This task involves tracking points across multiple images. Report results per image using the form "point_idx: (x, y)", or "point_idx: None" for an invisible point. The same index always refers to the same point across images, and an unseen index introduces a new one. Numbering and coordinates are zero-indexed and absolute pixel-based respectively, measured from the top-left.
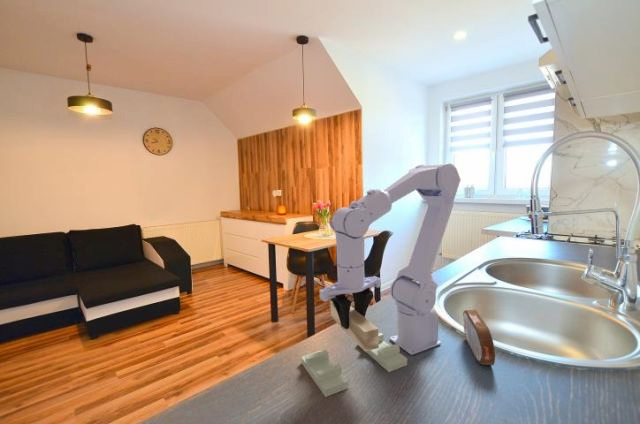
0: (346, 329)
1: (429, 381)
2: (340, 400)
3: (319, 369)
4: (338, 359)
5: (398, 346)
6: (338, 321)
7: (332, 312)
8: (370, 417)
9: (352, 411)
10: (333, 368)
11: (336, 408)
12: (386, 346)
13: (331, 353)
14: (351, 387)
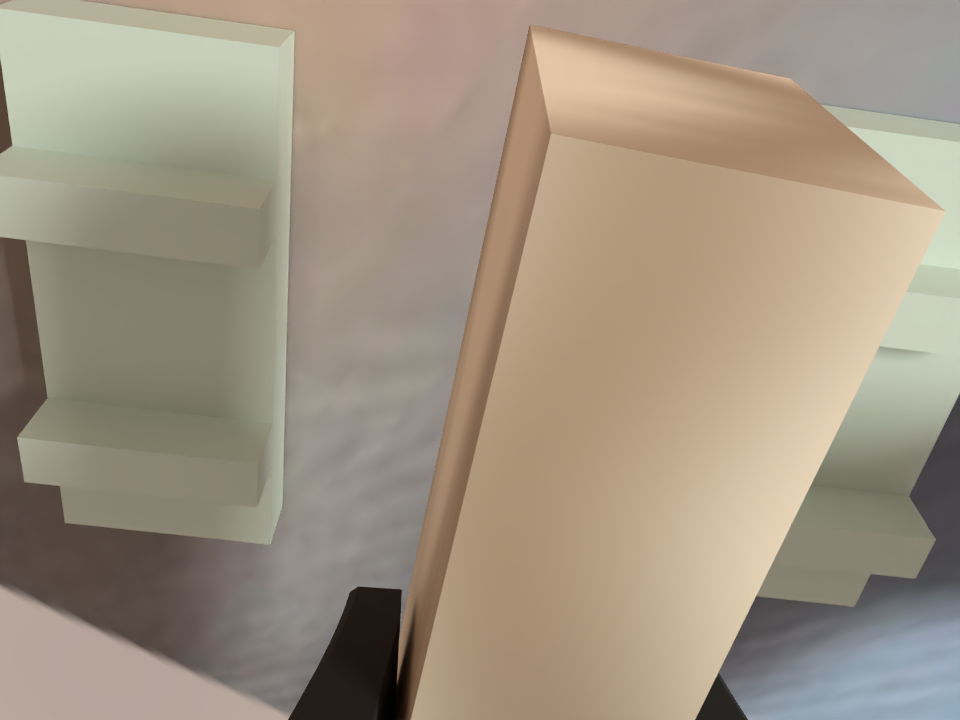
0: (411, 597)
1: (777, 710)
2: (175, 549)
3: (114, 319)
4: (429, 189)
5: (910, 572)
6: (457, 379)
7: (514, 151)
8: (268, 701)
9: (199, 635)
10: (182, 486)
11: (119, 579)
12: (905, 413)
13: (429, 50)
14: (310, 509)
